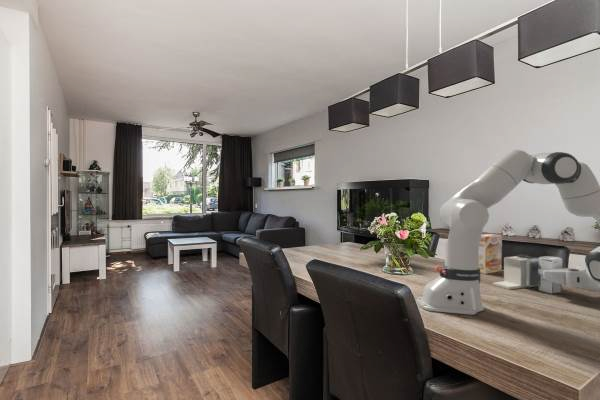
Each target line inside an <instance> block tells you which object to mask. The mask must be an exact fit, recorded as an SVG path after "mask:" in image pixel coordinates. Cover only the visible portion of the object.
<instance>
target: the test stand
mask: <svg viewBox="0 0 600 400" xmlns="http://www.w3.org/2000/svg"><path fill="white" fill-rule="evenodd" d="M527 256H528V255H527ZM528 257H530V256H528ZM533 258H535V256H534V257H533ZM527 259H529V258H524V257H518V255H514V256H505V257H503V281H495V282H492V286H494V287H495V286H496V287H499V288H502V289H506V290H516V289H521V288H522V289H523V288H531V287H538V285H539V284H537V285H526V264H527Z"/></svg>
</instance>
